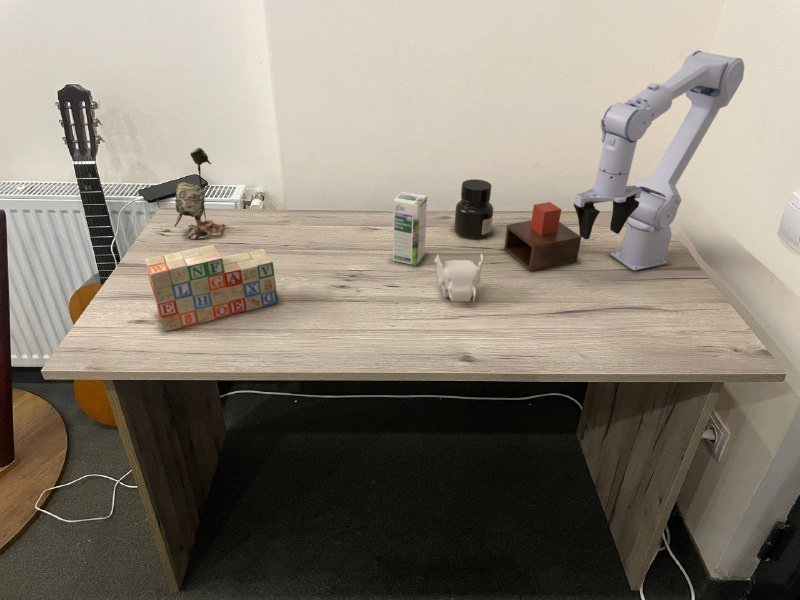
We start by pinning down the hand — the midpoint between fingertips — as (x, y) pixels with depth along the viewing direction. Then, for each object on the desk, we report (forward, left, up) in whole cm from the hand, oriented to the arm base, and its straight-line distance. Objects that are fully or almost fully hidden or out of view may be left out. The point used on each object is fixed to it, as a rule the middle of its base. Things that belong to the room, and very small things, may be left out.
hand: (599, 234), depth 121 cm
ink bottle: (+12, -29, -11) cm, 33 cm away
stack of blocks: (+74, -16, -11) cm, 77 cm away
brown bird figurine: (+73, -51, -11) cm, 90 cm away
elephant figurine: (+29, -4, -11) cm, 31 cm away
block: (+4, -13, -4) cm, 14 cm away
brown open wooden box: (+4, -13, -10) cm, 17 cm away
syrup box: (+32, -22, -11) cm, 40 cm away
